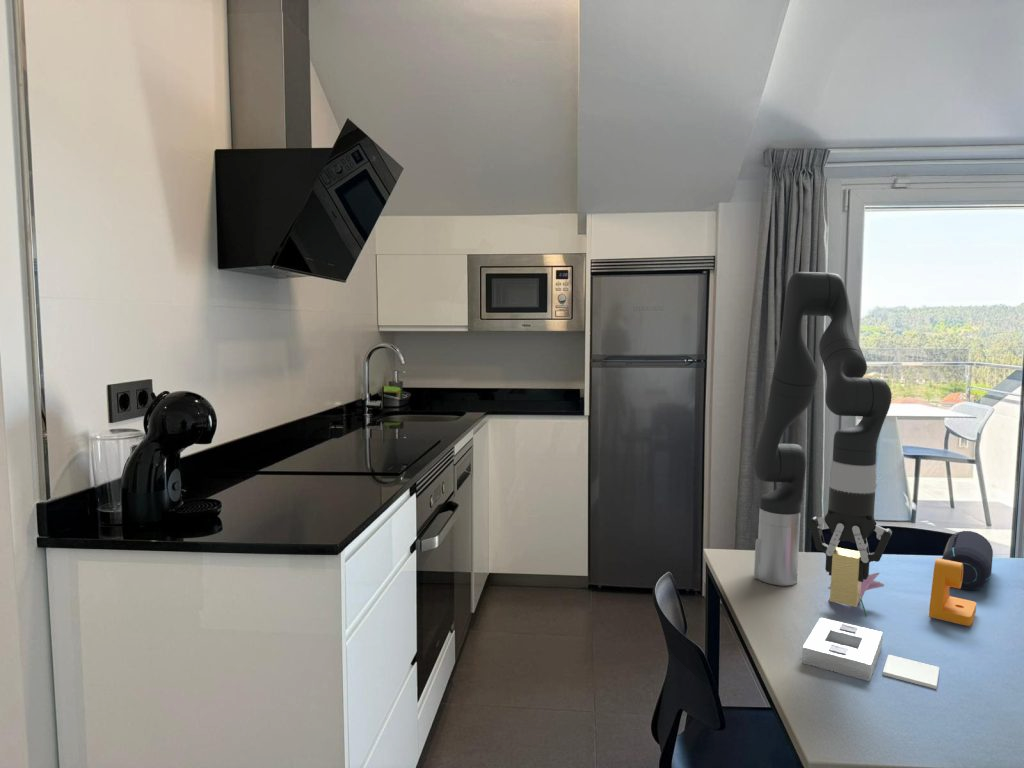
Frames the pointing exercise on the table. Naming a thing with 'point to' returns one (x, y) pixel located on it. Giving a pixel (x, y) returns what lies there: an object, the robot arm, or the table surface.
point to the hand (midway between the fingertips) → (846, 577)
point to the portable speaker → (971, 557)
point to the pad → (911, 671)
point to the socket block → (843, 648)
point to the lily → (867, 586)
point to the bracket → (941, 601)
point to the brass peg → (845, 577)
